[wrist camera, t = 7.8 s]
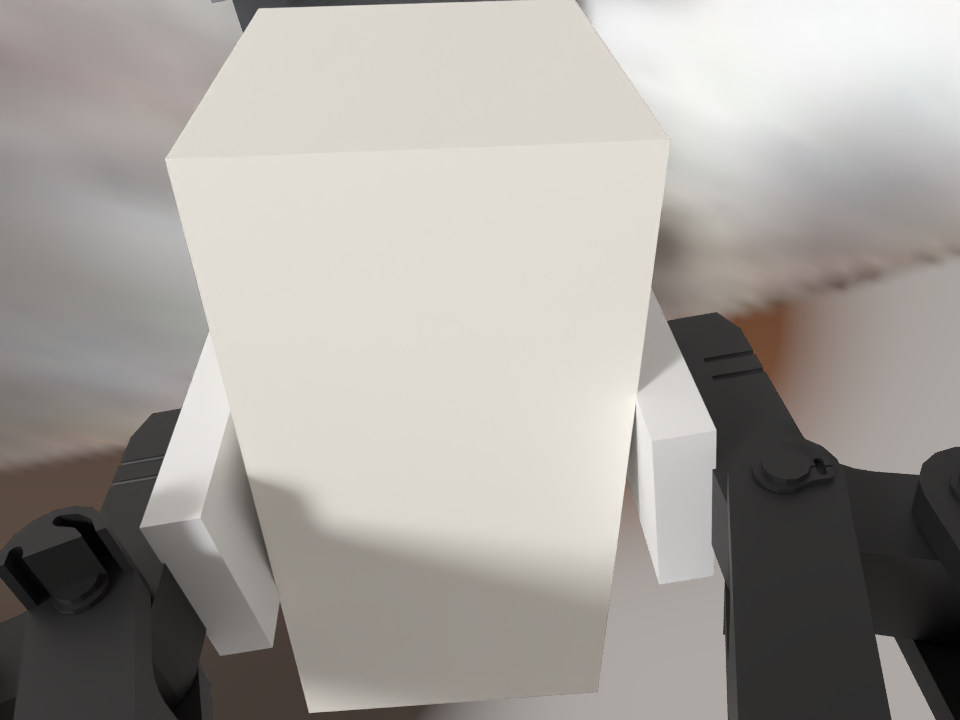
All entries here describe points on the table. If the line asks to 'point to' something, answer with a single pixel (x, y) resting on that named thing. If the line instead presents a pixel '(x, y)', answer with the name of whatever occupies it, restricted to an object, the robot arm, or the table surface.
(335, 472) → the cream rectangular block
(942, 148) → the table surface
